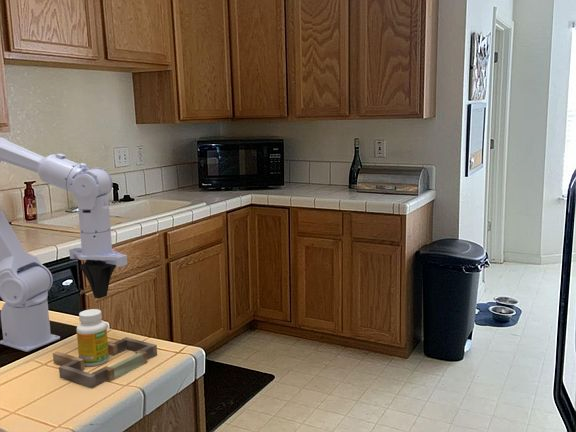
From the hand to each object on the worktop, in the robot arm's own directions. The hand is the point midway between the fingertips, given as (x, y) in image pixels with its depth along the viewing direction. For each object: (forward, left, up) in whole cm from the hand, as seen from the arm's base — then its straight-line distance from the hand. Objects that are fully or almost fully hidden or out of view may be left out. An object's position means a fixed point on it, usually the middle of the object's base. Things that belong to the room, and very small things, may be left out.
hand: (100, 296), depth 112 cm
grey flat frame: (+6, -6, -10) cm, 13 cm away
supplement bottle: (+4, -6, -11) cm, 13 cm away
